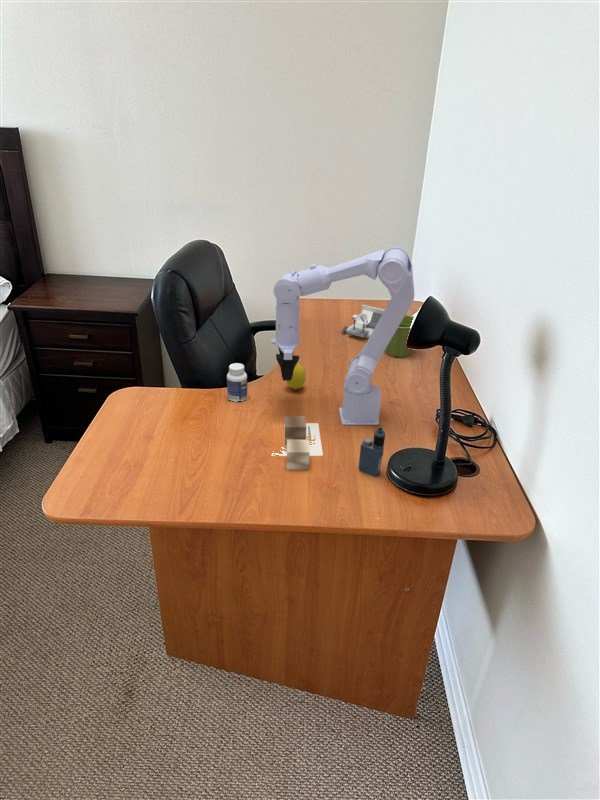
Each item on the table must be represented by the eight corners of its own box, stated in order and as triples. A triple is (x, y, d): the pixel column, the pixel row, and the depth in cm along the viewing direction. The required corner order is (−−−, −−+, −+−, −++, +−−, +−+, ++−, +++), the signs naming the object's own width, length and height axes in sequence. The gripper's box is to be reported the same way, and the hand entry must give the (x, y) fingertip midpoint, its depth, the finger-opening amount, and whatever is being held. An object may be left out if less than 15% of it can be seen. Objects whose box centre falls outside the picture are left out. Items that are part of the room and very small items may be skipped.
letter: (318, 423, 143) (318, 423, 143) (322, 456, 131) (322, 455, 131) (271, 423, 142) (271, 423, 142) (271, 456, 130) (271, 455, 130)
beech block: (308, 457, 130) (308, 439, 128) (308, 470, 126) (309, 452, 124) (286, 457, 130) (287, 439, 128) (286, 470, 126) (286, 452, 123)
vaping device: (377, 478, 124) (383, 433, 118) (356, 470, 126) (360, 425, 120) (382, 472, 126) (388, 428, 120) (361, 464, 128) (366, 420, 122)
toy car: (371, 318, 181) (339, 311, 186) (369, 346, 186) (337, 338, 191) (393, 302, 194) (362, 295, 199) (390, 328, 199) (360, 321, 204)
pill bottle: (244, 404, 150) (243, 372, 145) (225, 401, 151) (223, 369, 146) (249, 394, 155) (249, 363, 150) (231, 392, 156) (230, 360, 151)
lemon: (282, 391, 157) (282, 366, 153) (290, 383, 161) (290, 357, 157) (300, 395, 155) (301, 369, 151) (308, 386, 159) (309, 361, 155)
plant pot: (421, 351, 182) (426, 318, 177) (407, 364, 174) (411, 330, 168) (388, 342, 188) (392, 310, 182) (372, 354, 179) (376, 321, 173)
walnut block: (304, 433, 139) (305, 415, 136) (305, 444, 134) (306, 427, 132) (284, 433, 138) (284, 415, 136) (284, 444, 134) (285, 427, 132)
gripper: (270, 312, 143) (270, 360, 150) (271, 335, 131) (271, 386, 138) (298, 312, 144) (297, 360, 150) (301, 335, 131) (299, 386, 138)
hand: (286, 372), depth 144 cm, fingers open, 7 cm apart
